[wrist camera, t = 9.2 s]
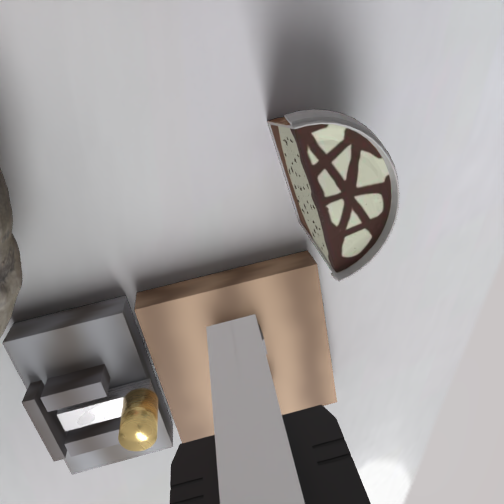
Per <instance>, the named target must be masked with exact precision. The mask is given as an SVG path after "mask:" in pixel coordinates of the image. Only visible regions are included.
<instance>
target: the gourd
mask: <svg viewBox="0 0 504 504" xmlns="http://www.w3.org/2000/svg"><path fill="white" fill-rule="evenodd" d="M12 225H13V216H12V209H11V204H10V199H9V192H8V188H7V186H6V183H5V180H4V177H3V174H2V172H1V169H0V337H1V336H2V334H3V333H4V331H5V329H6V326H7V324H8V322H9V320H10V318H11V316H12V312H13V309H14V305H15V301H16V298H17V295H18V293H19V290H20V288H21V285H22V269H21V261H20V252H19V248H18V245H17V242H16V240H15V238H14V236H13V234H12Z"/></svg>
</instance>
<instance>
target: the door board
mask: <svg viewBox="0 0 504 504" xmlns="http://www.w3.org/2000/svg"><path fill="white" fill-rule="evenodd" d="M134 310H135V313H136V316H137V319H138V321H139V324H140V327H141V330H142V333H143V335H144V338H145V341H146V344H147V346H148V349H149V352H150V355H151V358H152V360H153V363H154V366H155V369H156V372H157V374H158V377H159V380H160V383H161V385H162V388H163V391H164V394H165V397H166V399H167V402H168V405H169V408H170V410H171V413H172V416H173V419H174V422H175V424H176V427H177V430H178V433H179V436H180V438H181V441H182V443H186V442H189V441H193V440H197V439H201V438H204V437H208V436H212V435H215V433H214V420H213V407H212V394H211V381H210V369H209V356H208V343H207V330H206V327H208V326H212V325H215V324H219V323H223V322H227V321H231V320H234V319H238V318H242V317H246V316H250V315H253V314H255V315H256V319H257V323H258V326H259V330H260V334H261V338H262V342H263V345H264V349H265V353H266V357H267V361H268V365H269V368H270V372H271V376H272V380H273V384H274V387H275V391H276V395H277V399H278V403H279V407H280V410H281V414H282V415H284V414H288V413H292V412H295V411H299V410H303V409H307V408H310V407H314V406H318V405H322V406H324V405H328V404H331V403H335V402H337V398H336V392H335V385H334V378H333V371H332V364H331V357H330V350H329V343H328V336H327V329H326V322H325V315H324V309H323V302H322V295H321V288H320V281H319V274H318V267H317V263H316V262H315V260H314V259H313V257H312V256H311V255H310V253H309V252H308V250H307V251H303V252H299V253H295V254H291V255H287V256H283V257H279V258H275V259H271V260H267V261H263V262H259V263H255V264H251V265H247V266H243V267H239V268H235V269H231V270H226V271H222V272H218V273H214V274H210V275H206V276H202V277H198V278H194V279H190V280H186V281H182V282H178V283H174V284H170V285H166V286H162V287H158V288H154V289H150V290H146V291H142V292H138V293H137V295H136V302H135V309H134ZM3 345H4V347H5V349H6V351H7V353H8V355H9V356H10V358H11V360H12V362H13V364H14V366H15V368H16V370H17V372H18V373H19V375H20V377H21V379H22V381H23V383H24V385H25V387H26V389H27V392H26V394H25V396H24V399H23V401H22V404H23V406H24V407H25V409H26V411H27V413H28V415H29V417H30V418H31V420H32V422H33V424H34V426H35V428H36V429H37V431H38V433H39V435H40V437H41V439H42V441H43V442H44V444H45V446H46V448H47V450H48V452H49V453H50V455H51V457H52V459H53V461H58V460H61V459H64V460H65V462H66V464H67V466H68V468H69V470H70V472H71V474H76V473H79V472H83V471H87V470H90V469H94V468H98V467H101V466H105V465H109V464H112V463H116V462H120V461H123V460H127V459H131V458H134V457H138V456H142V455H145V454H149V453H153V452H156V451H160V450H163V449H167V448H171V447H173V424H172V421H171V418H170V416H169V413H168V410H167V407H166V405H165V402H164V399H163V396H162V394H161V391H160V388H159V385H158V383H157V380H156V377H155V374H154V372H153V369H152V366H151V363H150V361H149V358H148V355H147V352H146V350H145V347H144V344H143V341H142V339H141V336H140V333H139V330H138V328H137V325H136V322H135V319H134V317H133V314H132V311H131V308H130V306H129V303H128V300H127V297H126V296H122V297H118V298H114V299H110V300H106V301H102V302H98V303H94V304H89V305H85V306H81V307H77V308H73V309H69V310H65V311H61V312H57V313H53V314H49V315H45V316H41V317H37V318H33V319H29V320H25V321H21V322H17V323H14V324H13V326H12V327H11V329H10V331H9V332H8V334H7V336H6V338H5V339H4V341H3ZM149 378H150V380H151V383H152V386H153V389H154V391H155V394H156V395H157V397H158V426H157V440H156V442H155V443H154V444H153V445H152V446H151V447H150V448H148V449H146V450H143V451H130V450H127V449H125V448H124V447H122V446H121V445H120V443H119V441H118V435H119V428H120V421H121V417H118V418H114V419H110V420H106V421H103V422H99V423H95V424H91V425H88V426H84V427H80V428H76V429H73V430H69V431H65V430H64V428H63V426H62V424H61V422H60V420H59V418H58V416H57V412H58V409H61V408H65V407H69V406H73V405H76V404H80V403H84V402H88V401H92V400H95V399H99V398H103V397H107V394H108V389H111V388H115V387H118V386H122V385H126V384H130V383H134V382H138V381H141V380H145V379H149Z"/></svg>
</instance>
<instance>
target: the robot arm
mask: <svg viewBox="0 0 504 504" xmlns="http://www.w3.org/2000/svg"><path fill="white" fill-rule="evenodd" d="M206 330H207V343H208V356H209V369H210V381H211V394H212V407H213V420H214V433H215V435H212V436H208V437H204V438H201V439H197V440H193V441H189V442H186V443H182V444H180V445H179V448H178V450H177V452H176V454H175V457H174V459H173V461H172V464H171V482H170V486H171V490H170V504H371V503H370V501H369V498H368V496H367V493H366V491H365V489H364V486H363V484H362V481H361V479H360V476H359V474H358V471H357V469H356V466H355V464H354V461H353V459H352V457H351V454H350V451H349V449H348V446H347V444H346V441H345V440H344V437H343V434H342V432H341V429H340V427H339V424H338V422H337V419H336V418H335V417H334V416H333V415H332V414H331V413H330V412H329V411H328V410H327V409H326V408H325V407H324V406H322V405H318V406H314V407H310V408H307V409H303V410H299V411H295V412H292V413H288V414H284V415H282V414H281V410H280V407H279V403H278V399H277V395H276V391H275V387H274V384H273V380H272V376H271V372H270V368H269V365H268V361H267V357H266V353H265V349H264V345H263V342H262V338H261V334H260V330H259V326H258V323H257V319H256V315H255V314H253V315H250V316H246V317H242V318H238V319H234V320H231V321H227V322H223V323H219V324H215V325H212V326H208V327H206Z"/></svg>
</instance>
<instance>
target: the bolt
mask: <svg viewBox="0 0 504 504" xmlns="http://www.w3.org/2000/svg"><path fill="white" fill-rule="evenodd" d="M57 416H58V418H59V420H60V422H61V424H62V426H63V428H64V430H65V431H69V430H73V429H76V428H80V427H84V426H88V425H91V424H95V423H99V422H103V421H106V420H110V419H114V418H118V417H121V421H120V428H119V435H118V441H119V443H120V445H121V446H122V447H124V448H125V449H127V450H130V451H143V450H146V449H148V448H150V447H151V446H152V445H153V444H154V443H155V442H156V440H157V426H158V397H157V395H156V394H155V391H154V389H153V386H152V383H151V380H150V378H149V379H145V380H141V381H138V382H134V383H130V384H126V385H122V386H118V387H115V388H111V389H108V394H107V397H103V398H99V399H95V400H92V401H88V402H84V403H80V404H76V405H73V406H69V407H65V408H61V409H58V412H57Z"/></svg>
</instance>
